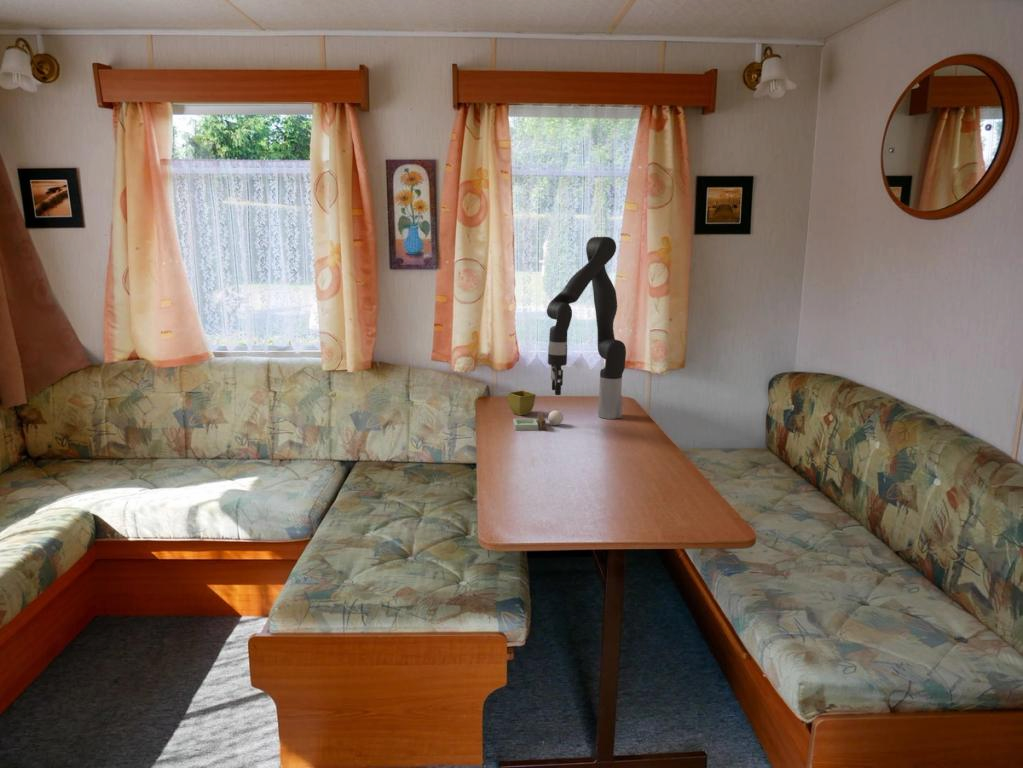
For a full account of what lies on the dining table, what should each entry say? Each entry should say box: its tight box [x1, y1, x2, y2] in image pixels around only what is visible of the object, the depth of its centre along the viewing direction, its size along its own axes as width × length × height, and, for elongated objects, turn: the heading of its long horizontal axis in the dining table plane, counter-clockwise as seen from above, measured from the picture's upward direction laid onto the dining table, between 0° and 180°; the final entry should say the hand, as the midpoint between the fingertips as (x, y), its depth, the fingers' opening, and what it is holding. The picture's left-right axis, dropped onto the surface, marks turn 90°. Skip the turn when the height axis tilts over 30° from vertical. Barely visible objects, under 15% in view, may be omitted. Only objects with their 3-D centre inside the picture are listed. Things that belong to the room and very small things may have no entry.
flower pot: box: [507, 390, 536, 416], centre depth 291 cm, size 9×9×9 cm
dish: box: [512, 418, 539, 431], centre depth 272 cm, size 9×9×2 cm
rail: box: [536, 412, 548, 432], centre depth 273 cm, size 3×12×4 cm, turn 5°
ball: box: [547, 410, 564, 426], centre depth 275 cm, size 6×6×6 cm
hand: (556, 392), depth 273 cm, fingers open, 8 cm apart
